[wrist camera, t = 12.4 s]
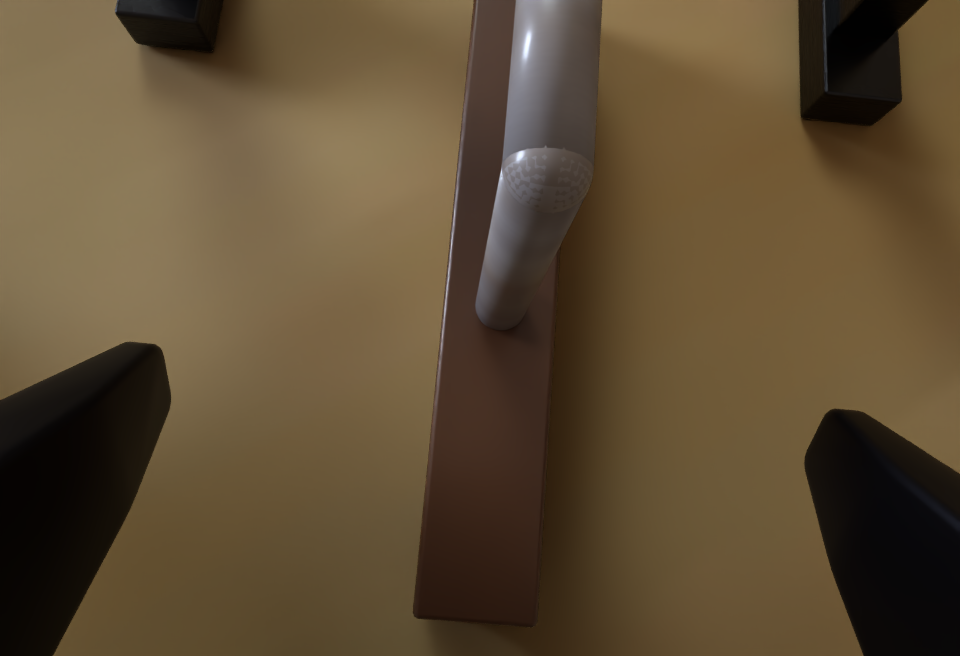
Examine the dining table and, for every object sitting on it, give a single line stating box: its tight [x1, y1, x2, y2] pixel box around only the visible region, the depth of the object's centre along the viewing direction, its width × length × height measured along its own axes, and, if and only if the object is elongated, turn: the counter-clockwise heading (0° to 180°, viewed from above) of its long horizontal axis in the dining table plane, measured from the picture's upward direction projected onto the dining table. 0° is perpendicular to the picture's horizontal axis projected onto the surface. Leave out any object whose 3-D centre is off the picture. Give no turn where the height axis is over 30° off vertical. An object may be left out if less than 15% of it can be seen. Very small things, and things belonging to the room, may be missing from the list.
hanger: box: [413, 0, 602, 628], centre depth 9 cm, size 12×2×8 cm, turn 175°
